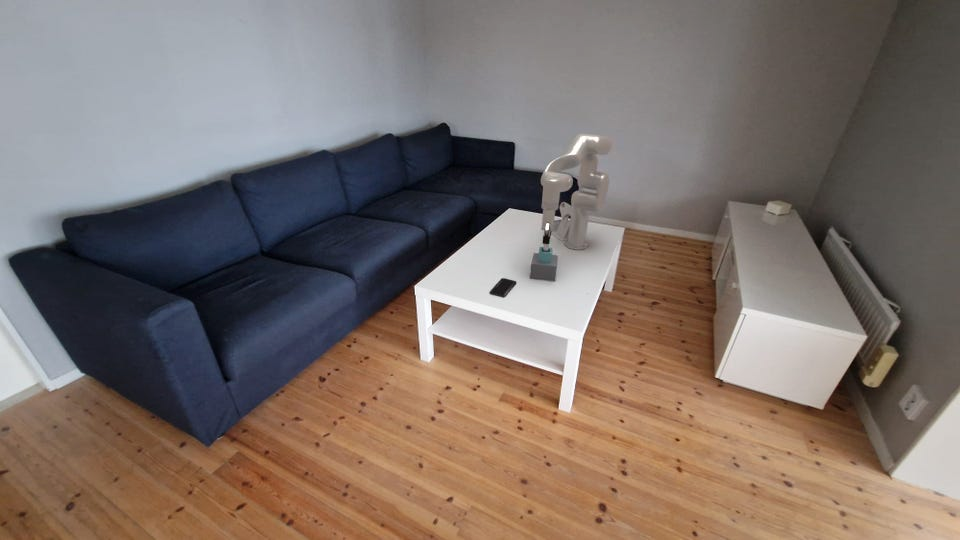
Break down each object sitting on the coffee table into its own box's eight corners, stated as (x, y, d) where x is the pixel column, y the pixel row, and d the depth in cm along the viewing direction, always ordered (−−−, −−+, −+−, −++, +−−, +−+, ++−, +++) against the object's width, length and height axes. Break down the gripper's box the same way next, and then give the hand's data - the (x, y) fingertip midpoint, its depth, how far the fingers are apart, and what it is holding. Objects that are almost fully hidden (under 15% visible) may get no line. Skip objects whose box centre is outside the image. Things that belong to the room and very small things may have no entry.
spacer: (538, 255, 193) (539, 246, 190) (552, 257, 192) (552, 247, 189) (537, 261, 187) (538, 252, 185) (551, 263, 186) (552, 253, 184)
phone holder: (546, 230, 242) (549, 202, 233) (561, 228, 245) (564, 200, 236) (560, 241, 228) (564, 212, 219) (576, 239, 231) (579, 210, 222)
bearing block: (532, 266, 200) (533, 252, 196) (556, 269, 197) (558, 255, 193) (529, 278, 189) (531, 263, 186) (555, 281, 187) (556, 266, 183)
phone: (517, 281, 185) (504, 296, 173) (517, 283, 186) (504, 298, 174) (501, 277, 188) (488, 292, 176) (501, 279, 189) (488, 294, 177)
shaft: (542, 261, 192) (544, 235, 185) (547, 262, 191) (549, 235, 185) (541, 263, 190) (544, 237, 183) (546, 264, 189) (549, 237, 182)
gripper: (543, 198, 184) (540, 231, 193) (539, 210, 170) (536, 246, 178) (559, 199, 183) (556, 233, 191) (557, 212, 168) (553, 248, 176)
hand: (546, 239), depth 184 cm, fingers open, 9 cm apart
